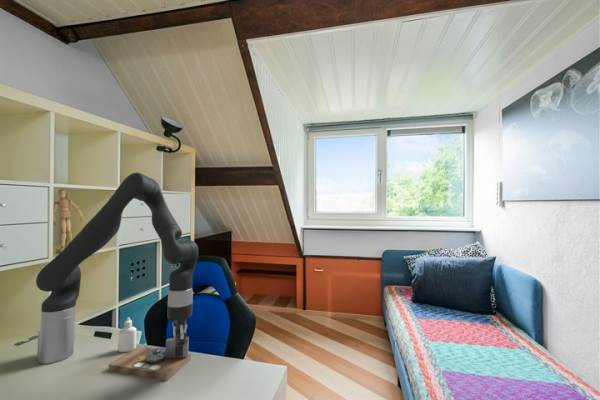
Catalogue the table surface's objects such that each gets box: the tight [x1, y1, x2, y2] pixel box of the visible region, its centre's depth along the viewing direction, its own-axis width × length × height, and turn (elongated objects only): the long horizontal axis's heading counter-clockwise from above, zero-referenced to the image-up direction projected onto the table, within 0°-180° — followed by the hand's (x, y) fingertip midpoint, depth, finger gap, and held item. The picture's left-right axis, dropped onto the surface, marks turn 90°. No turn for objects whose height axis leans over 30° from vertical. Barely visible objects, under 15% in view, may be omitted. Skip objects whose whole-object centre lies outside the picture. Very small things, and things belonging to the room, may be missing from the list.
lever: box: [138, 336, 190, 364], centre depth 91 cm, size 6×16×6 cm, turn 102°
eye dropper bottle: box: [117, 317, 138, 353], centre depth 101 cm, size 4×6×12 cm
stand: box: [108, 345, 192, 381], centre depth 91 cm, size 22×12×2 cm, turn 77°
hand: (178, 355), depth 87 cm, fingers closed
